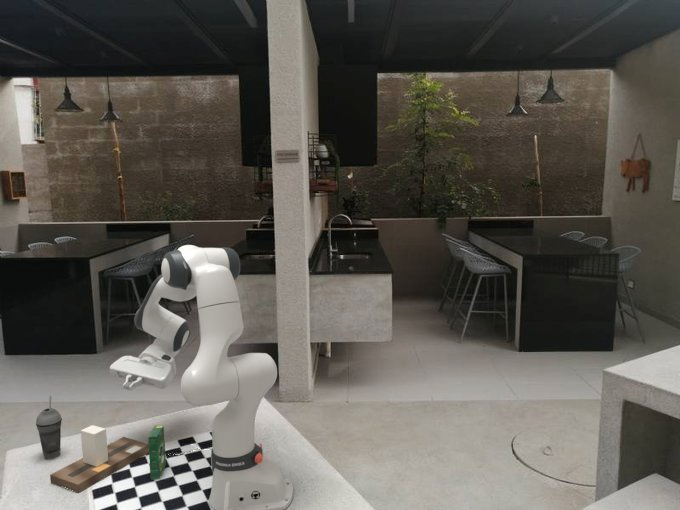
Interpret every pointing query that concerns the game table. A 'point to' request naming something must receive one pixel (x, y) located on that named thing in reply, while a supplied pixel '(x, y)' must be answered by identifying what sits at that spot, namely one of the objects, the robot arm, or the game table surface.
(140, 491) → the game table surface
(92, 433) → the switch tab
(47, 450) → the beverage cup
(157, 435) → the coffee box
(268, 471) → the robot arm
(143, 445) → the switch board
